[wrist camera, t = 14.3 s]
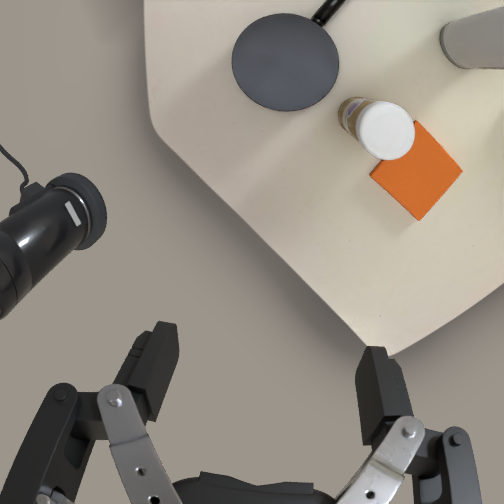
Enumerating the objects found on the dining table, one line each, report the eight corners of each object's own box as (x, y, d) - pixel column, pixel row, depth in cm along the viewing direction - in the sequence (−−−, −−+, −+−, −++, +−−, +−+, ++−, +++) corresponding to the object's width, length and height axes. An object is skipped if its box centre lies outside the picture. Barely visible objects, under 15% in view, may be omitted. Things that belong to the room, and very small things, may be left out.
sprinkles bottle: (346, 90, 31) (374, 91, 20) (382, 108, 31) (425, 120, 20) (331, 125, 33) (350, 145, 22) (366, 142, 34) (401, 171, 22)
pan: (218, 75, 32) (211, 74, 30) (314, -43, 23) (315, -53, 21) (297, 128, 34) (297, 131, 32) (393, 10, 25) (401, 5, 23)
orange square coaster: (369, 174, 36) (370, 176, 35) (414, 120, 31) (417, 120, 31) (417, 219, 37) (419, 221, 36) (460, 169, 33) (463, 171, 32)
